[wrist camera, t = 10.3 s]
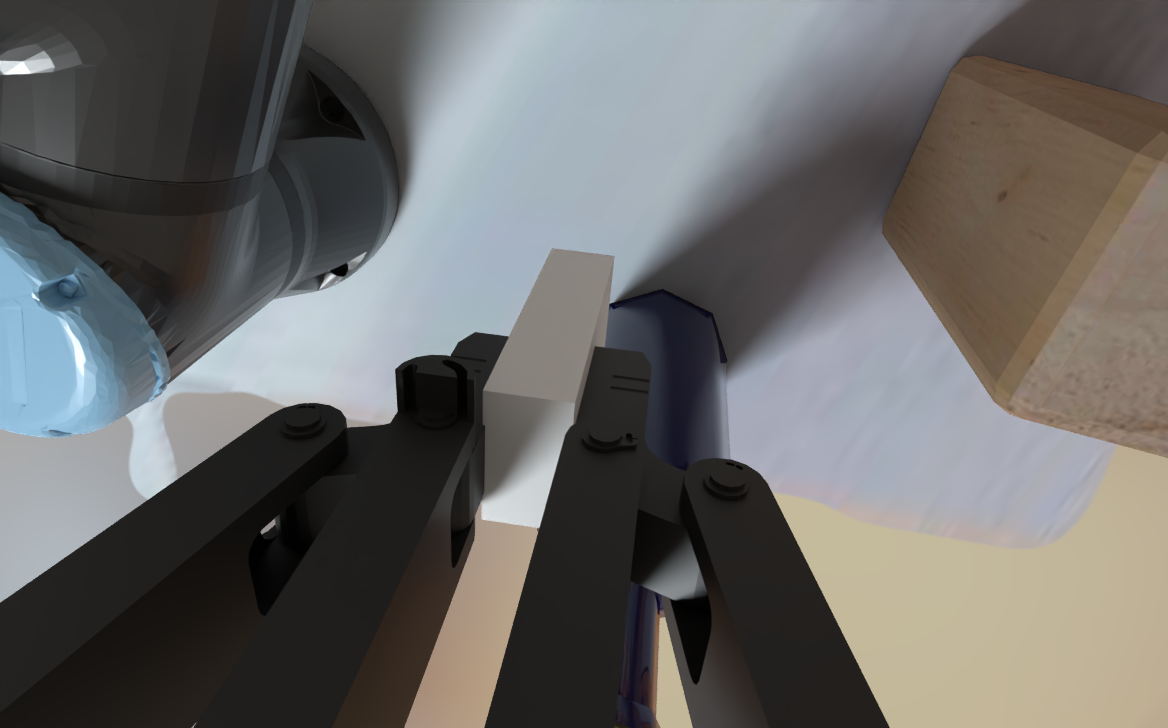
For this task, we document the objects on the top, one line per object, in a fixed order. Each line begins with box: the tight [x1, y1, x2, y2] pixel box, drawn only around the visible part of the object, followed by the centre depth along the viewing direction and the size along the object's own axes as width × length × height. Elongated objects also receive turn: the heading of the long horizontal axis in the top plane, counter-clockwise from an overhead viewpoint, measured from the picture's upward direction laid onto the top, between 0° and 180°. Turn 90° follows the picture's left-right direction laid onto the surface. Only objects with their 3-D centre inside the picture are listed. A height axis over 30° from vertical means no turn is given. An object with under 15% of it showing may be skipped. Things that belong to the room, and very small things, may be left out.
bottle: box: [537, 289, 730, 728], centre depth 35 cm, size 9×9×30 cm
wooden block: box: [882, 55, 1168, 458], centre depth 31 cm, size 10×10×20 cm
